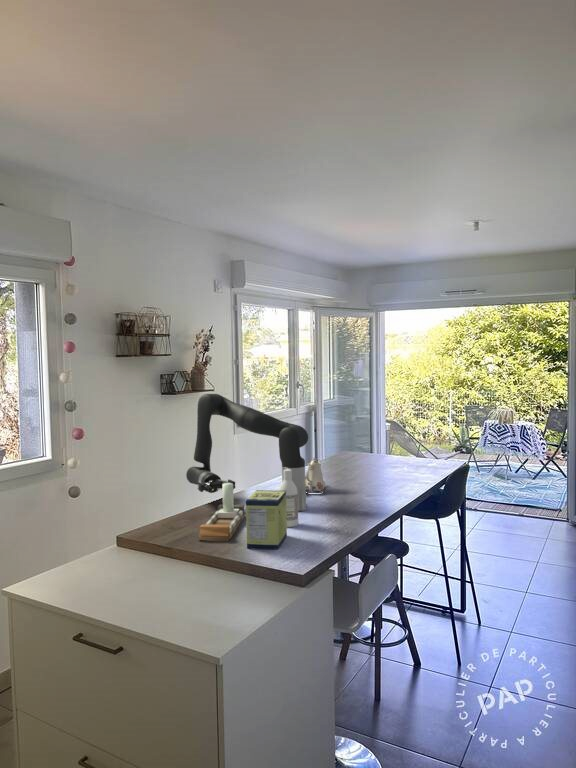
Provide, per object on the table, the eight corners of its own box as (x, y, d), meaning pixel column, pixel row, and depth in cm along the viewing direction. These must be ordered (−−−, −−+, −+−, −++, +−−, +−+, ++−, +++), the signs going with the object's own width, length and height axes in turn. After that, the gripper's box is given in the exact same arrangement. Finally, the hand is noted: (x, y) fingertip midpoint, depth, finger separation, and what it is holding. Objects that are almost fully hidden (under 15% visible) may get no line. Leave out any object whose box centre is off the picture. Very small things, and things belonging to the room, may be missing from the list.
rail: (219, 515, 226) (219, 504, 226) (245, 516, 225) (244, 504, 225) (198, 541, 194) (198, 527, 194) (228, 541, 193) (228, 527, 193)
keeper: (221, 513, 222) (220, 482, 222) (239, 514, 221) (238, 482, 221) (217, 518, 216) (216, 485, 216) (236, 518, 215) (235, 485, 215)
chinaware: (305, 488, 281) (301, 453, 281) (338, 487, 274) (334, 451, 274) (279, 501, 256) (275, 463, 256) (314, 500, 248) (310, 461, 249)
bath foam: (301, 526, 210) (300, 470, 209) (284, 528, 207) (283, 472, 206) (293, 521, 216) (291, 467, 215) (275, 524, 213) (274, 469, 212)
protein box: (287, 535, 199) (286, 490, 198) (278, 550, 183) (277, 500, 183) (257, 534, 201) (256, 489, 200) (246, 548, 185) (245, 500, 185)
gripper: (192, 474, 237) (203, 481, 222) (226, 470, 243) (239, 477, 228) (192, 492, 237) (204, 500, 222) (226, 488, 243) (239, 496, 228)
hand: (221, 489), depth 225 cm, fingers open, 8 cm apart
